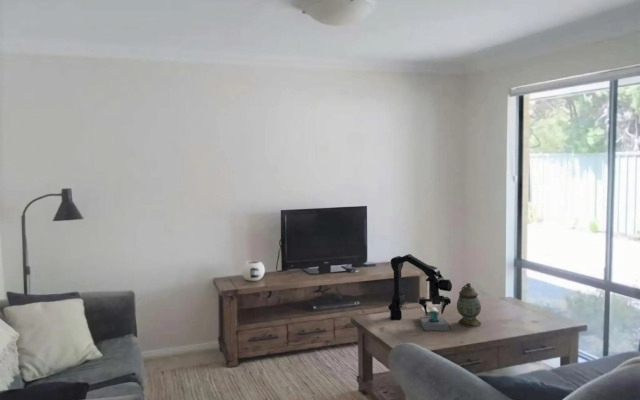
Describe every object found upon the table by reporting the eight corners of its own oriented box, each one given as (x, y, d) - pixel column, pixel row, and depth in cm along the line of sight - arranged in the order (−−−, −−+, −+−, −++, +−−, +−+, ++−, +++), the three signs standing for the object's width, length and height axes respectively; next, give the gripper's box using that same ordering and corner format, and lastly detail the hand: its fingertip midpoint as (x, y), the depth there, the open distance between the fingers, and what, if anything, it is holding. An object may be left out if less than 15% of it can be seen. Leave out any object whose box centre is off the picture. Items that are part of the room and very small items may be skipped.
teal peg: (431, 325, 295) (431, 312, 295) (429, 323, 299) (429, 310, 299) (437, 325, 295) (437, 312, 294) (436, 323, 299) (436, 310, 298)
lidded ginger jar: (482, 327, 292) (482, 286, 290) (457, 326, 295) (457, 285, 293) (479, 320, 306) (479, 280, 304) (456, 319, 309) (455, 280, 307)
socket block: (424, 330, 290) (424, 324, 290) (420, 322, 304) (420, 317, 304) (448, 330, 290) (448, 324, 290) (443, 322, 304) (443, 316, 304)
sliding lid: (424, 316, 304) (424, 311, 304) (421, 312, 313) (421, 307, 313) (438, 316, 304) (438, 311, 304) (435, 311, 313) (435, 307, 313)
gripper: (420, 292, 287) (420, 319, 289) (452, 292, 287) (453, 318, 288) (417, 287, 299) (417, 313, 300) (448, 287, 298) (448, 312, 299)
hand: (434, 314), depth 297 cm, fingers open, 9 cm apart
